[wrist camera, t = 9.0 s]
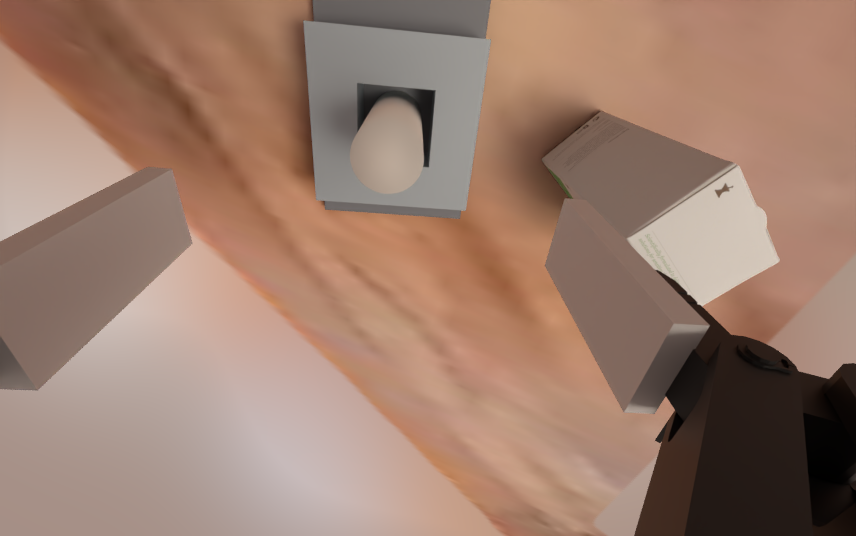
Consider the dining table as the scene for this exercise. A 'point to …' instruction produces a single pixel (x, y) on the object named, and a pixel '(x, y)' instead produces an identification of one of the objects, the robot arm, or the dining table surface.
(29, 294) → the robot arm
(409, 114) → the dowel
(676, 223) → the skincare box
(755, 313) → the dining table surface
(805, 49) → the dining table surface
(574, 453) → the dining table surface
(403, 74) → the socket
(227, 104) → the dining table surface
